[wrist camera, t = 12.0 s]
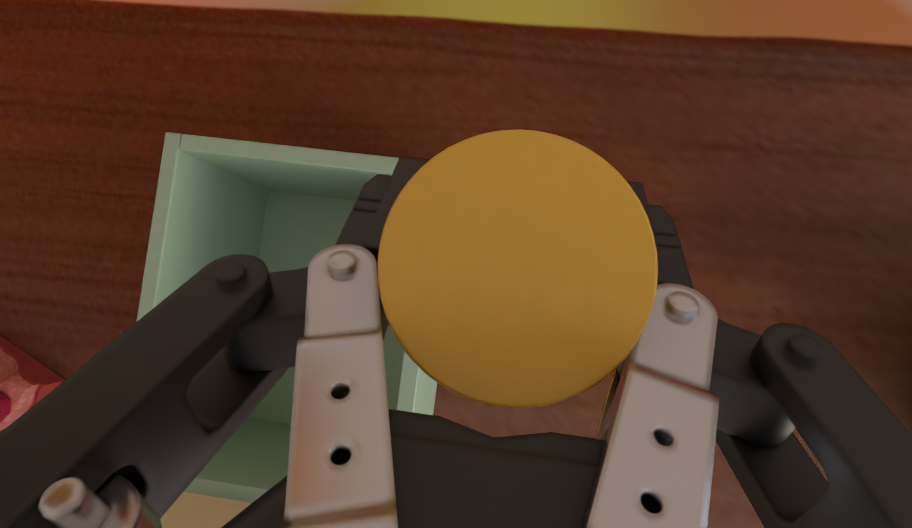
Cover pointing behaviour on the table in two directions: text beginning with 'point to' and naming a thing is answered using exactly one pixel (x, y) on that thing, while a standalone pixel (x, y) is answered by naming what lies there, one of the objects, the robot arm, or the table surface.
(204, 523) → the lid
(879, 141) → the table surface
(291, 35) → the table surface
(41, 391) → the anatomical model
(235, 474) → the green open box
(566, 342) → the round shape
